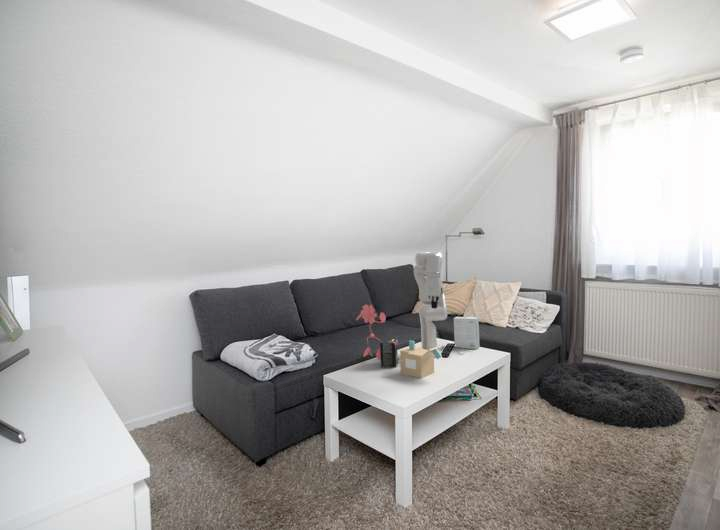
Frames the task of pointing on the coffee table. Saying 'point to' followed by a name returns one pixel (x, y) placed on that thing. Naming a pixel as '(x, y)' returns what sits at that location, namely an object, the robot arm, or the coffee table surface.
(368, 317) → the figurine
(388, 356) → the tampon box
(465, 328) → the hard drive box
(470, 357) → the coffee table surface
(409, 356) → the carton
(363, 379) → the coffee table surface
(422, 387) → the coffee table surface
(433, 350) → the flap
